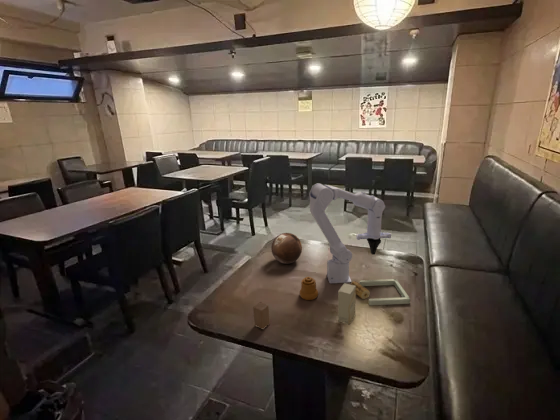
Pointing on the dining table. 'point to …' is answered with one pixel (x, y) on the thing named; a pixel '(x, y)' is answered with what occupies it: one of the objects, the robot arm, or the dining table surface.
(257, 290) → the dining table surface
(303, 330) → the dining table surface
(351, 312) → the skincare box
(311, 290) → the ornamental finial
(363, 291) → the carved stone cylinder
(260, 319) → the wooden block
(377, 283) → the pale grey flat frame
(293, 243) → the wooden sphere
